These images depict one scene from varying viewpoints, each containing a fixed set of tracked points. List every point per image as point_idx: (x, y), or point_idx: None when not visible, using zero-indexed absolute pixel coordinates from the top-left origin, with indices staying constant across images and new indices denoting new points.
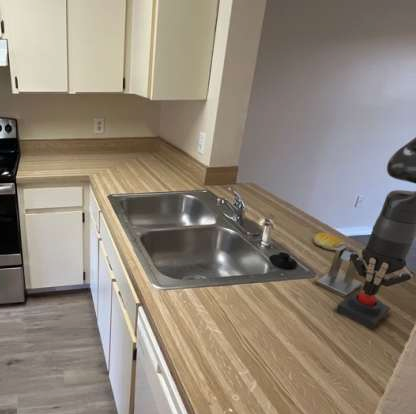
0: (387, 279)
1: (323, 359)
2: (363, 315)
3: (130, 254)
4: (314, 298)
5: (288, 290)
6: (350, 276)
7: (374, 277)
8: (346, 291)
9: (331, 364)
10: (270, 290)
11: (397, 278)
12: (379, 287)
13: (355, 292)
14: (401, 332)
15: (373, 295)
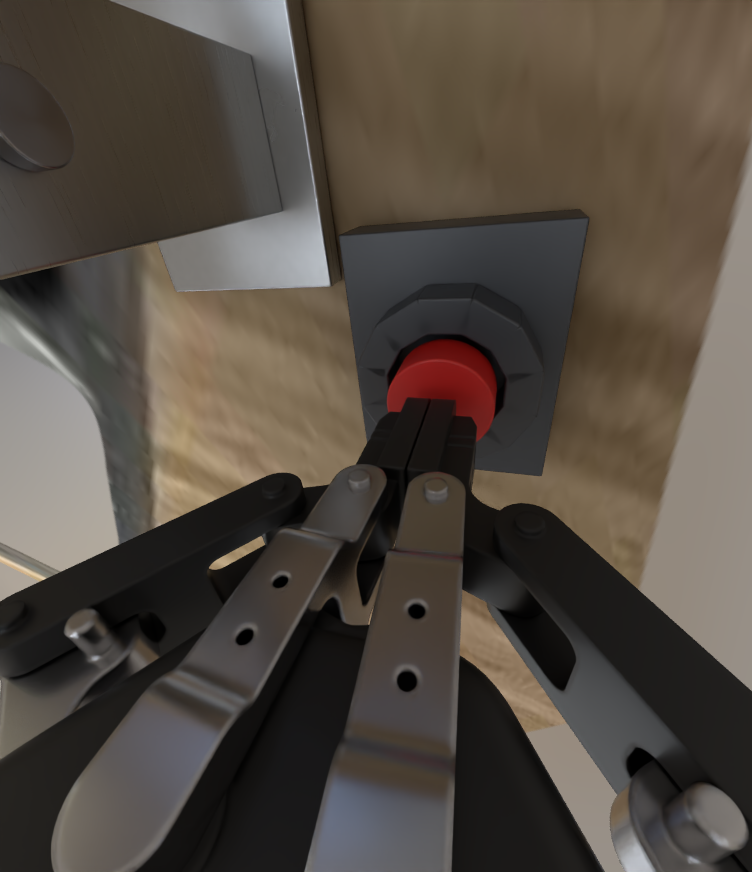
0: (500, 569)
1: (474, 646)
2: (482, 462)
3: (22, 571)
4: (284, 415)
5: (213, 442)
6: (215, 194)
7: (384, 512)
8: (309, 247)
9: (496, 651)
10: (200, 486)
11: (616, 774)
12: (471, 476)
13: (348, 253)
14: (683, 354)
15: (459, 372)
